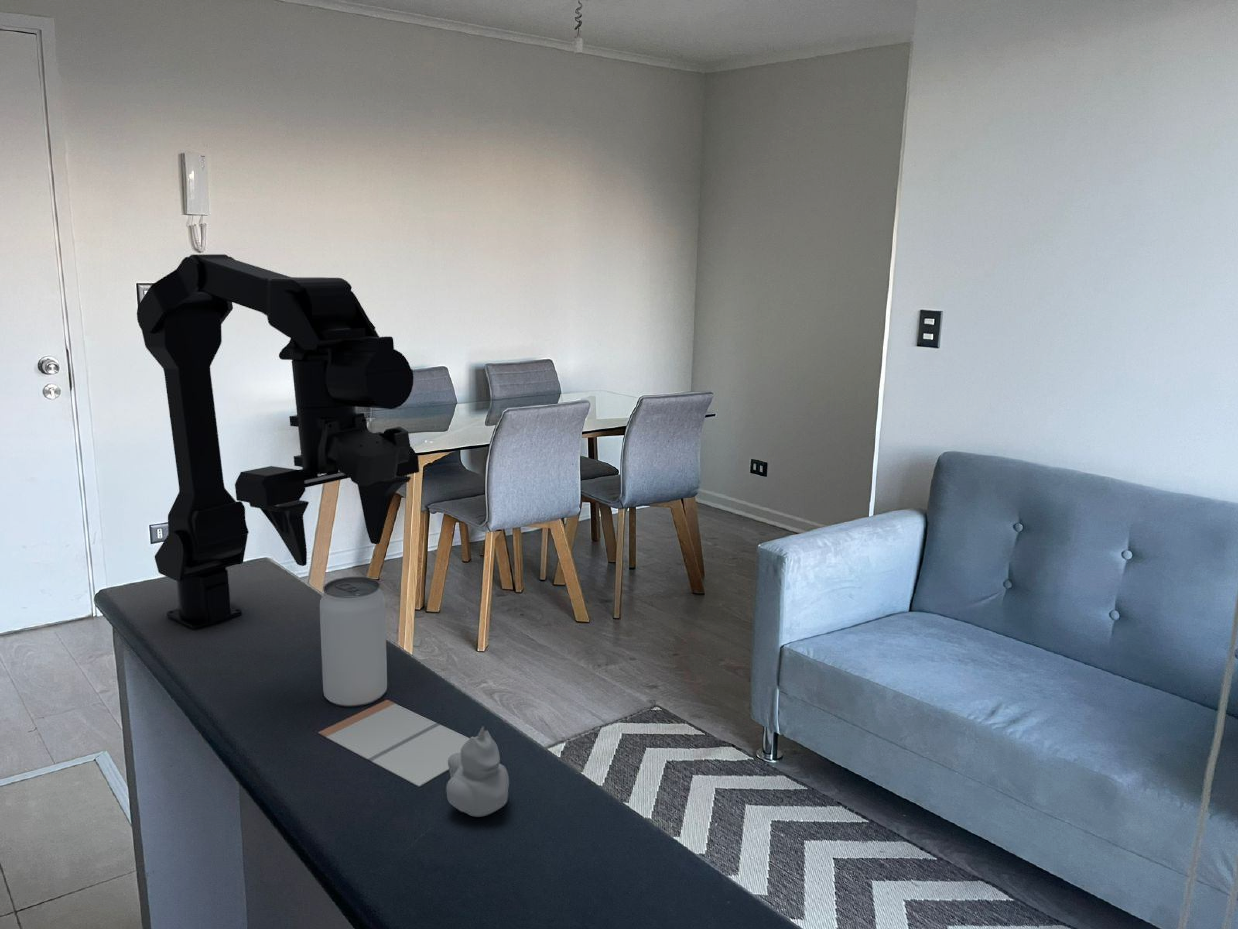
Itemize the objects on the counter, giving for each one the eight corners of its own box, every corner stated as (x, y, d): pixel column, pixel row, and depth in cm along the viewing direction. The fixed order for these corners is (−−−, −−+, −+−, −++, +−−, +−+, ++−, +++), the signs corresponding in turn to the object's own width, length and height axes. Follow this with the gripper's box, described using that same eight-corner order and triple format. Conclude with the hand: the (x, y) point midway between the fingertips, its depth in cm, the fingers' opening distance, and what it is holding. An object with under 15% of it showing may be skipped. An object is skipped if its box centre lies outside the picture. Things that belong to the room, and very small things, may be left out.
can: (349, 715, 96) (345, 603, 93) (310, 694, 100) (305, 586, 97) (400, 692, 101) (397, 585, 98) (361, 673, 105) (357, 570, 102)
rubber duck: (475, 837, 78) (475, 748, 76) (426, 803, 82) (425, 718, 80) (525, 809, 82) (526, 724, 80) (476, 778, 86) (476, 697, 84)
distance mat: (318, 733, 92) (318, 732, 92) (387, 701, 99) (387, 699, 99) (419, 786, 84) (419, 785, 84) (486, 747, 91) (486, 746, 91)
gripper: (293, 421, 84) (311, 591, 87) (449, 397, 99) (459, 543, 102) (223, 415, 91) (241, 573, 94) (379, 393, 105) (390, 530, 108)
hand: (340, 554), depth 99 cm, fingers open, 9 cm apart
